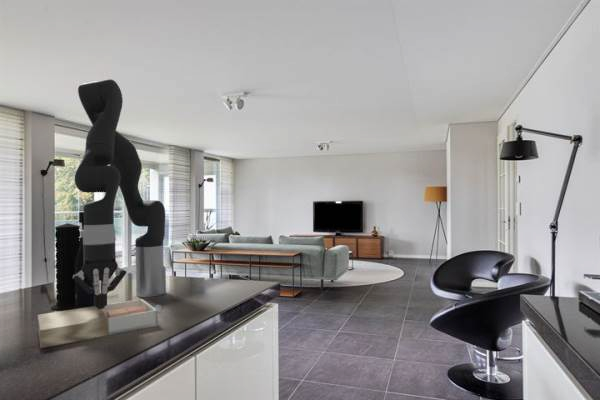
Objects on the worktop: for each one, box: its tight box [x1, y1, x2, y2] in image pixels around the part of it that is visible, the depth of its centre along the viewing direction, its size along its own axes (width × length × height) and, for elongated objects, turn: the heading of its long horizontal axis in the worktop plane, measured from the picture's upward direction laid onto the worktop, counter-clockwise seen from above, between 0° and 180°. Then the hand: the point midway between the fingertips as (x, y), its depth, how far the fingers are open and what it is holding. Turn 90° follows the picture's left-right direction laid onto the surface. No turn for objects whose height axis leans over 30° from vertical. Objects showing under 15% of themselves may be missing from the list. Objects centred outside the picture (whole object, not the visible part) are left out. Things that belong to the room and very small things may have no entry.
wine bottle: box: [75, 211, 95, 309], centre depth 121 cm, size 6×6×30 cm
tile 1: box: [107, 308, 128, 318], centre depth 106 cm, size 4×4×3 cm
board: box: [37, 306, 110, 349], centre depth 100 cm, size 14×16×4 cm
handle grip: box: [50, 222, 81, 312], centre depth 126 cm, size 10×26×10 cm
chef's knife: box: [153, 304, 163, 315], centre depth 118 cm, size 19×1×3 cm
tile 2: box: [125, 305, 146, 315], centre depth 108 cm, size 4×4×3 cm
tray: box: [101, 298, 159, 336], centre depth 107 cm, size 12×16×4 cm
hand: (100, 308), depth 104 cm, fingers closed
